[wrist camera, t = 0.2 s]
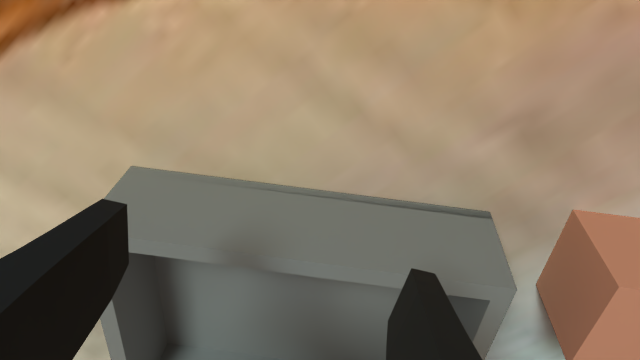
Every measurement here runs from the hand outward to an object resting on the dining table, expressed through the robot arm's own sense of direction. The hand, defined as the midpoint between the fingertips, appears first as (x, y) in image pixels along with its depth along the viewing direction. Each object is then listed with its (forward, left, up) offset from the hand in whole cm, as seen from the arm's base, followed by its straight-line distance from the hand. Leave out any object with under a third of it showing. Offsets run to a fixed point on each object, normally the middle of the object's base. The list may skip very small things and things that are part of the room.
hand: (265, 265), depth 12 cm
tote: (-11, 0, -10) cm, 15 cm away
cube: (-6, -15, -10) cm, 19 cm away
